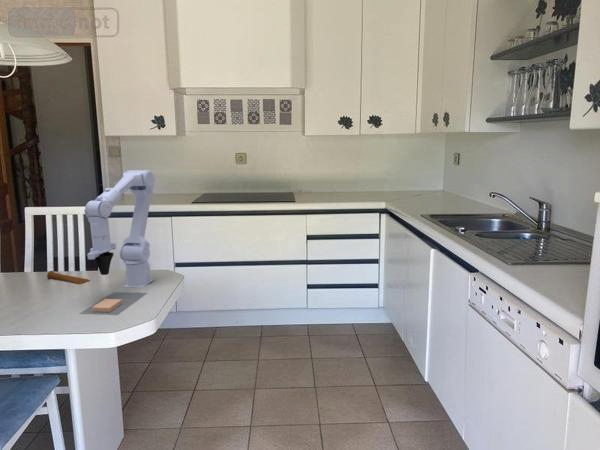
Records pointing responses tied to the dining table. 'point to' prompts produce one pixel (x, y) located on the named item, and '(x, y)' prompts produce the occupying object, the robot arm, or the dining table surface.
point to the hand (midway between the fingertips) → (104, 274)
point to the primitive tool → (66, 278)
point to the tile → (107, 305)
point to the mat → (127, 301)
